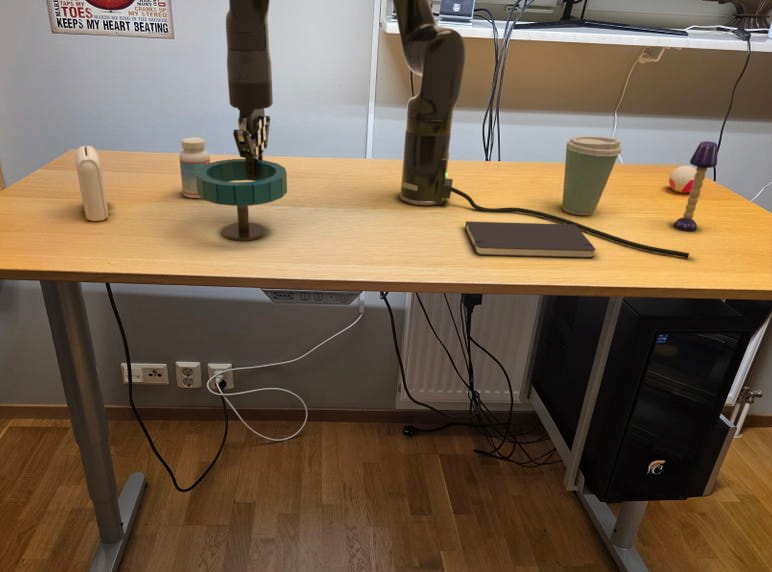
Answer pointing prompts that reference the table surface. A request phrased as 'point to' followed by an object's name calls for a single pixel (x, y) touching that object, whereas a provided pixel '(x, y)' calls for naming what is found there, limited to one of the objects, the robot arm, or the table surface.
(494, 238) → the notebook
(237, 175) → the ring
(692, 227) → the toy lamp
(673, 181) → the stress ball
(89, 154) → the photo printer
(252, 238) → the peg stand
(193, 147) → the pill bottle
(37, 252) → the table surface
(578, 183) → the disposable coffee cup
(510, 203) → the table surface
